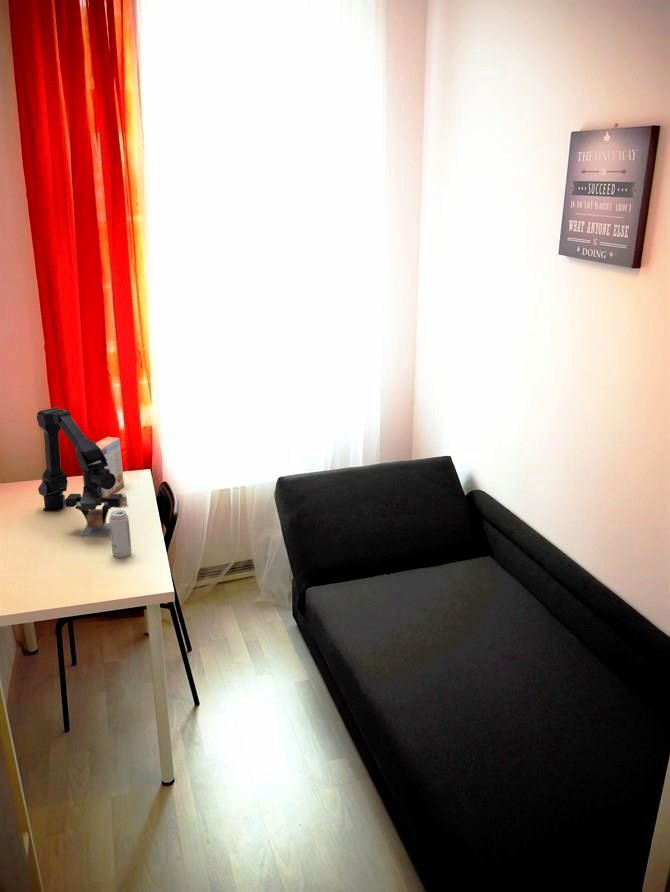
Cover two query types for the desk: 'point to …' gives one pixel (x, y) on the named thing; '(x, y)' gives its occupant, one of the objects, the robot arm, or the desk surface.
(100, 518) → the walnut cube
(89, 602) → the desk surface
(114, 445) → the cracker box
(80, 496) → the robot arm
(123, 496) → the oak block
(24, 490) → the desk surface
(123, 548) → the energy drink can
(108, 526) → the slate coaster
